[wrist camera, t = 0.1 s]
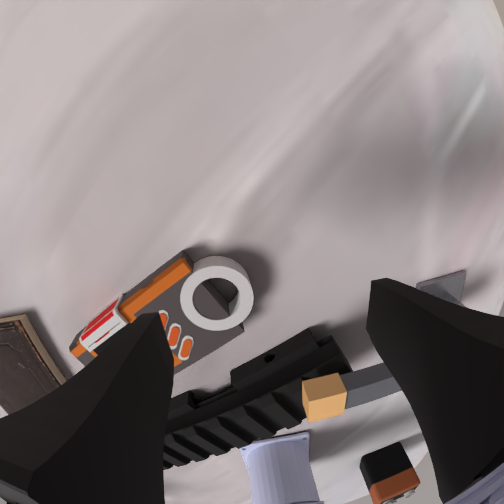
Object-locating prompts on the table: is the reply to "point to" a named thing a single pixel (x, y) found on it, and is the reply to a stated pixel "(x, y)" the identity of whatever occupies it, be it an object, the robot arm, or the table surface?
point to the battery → (389, 474)
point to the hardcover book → (24, 365)
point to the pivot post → (445, 287)
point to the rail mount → (250, 401)
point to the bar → (346, 391)
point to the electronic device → (176, 309)
